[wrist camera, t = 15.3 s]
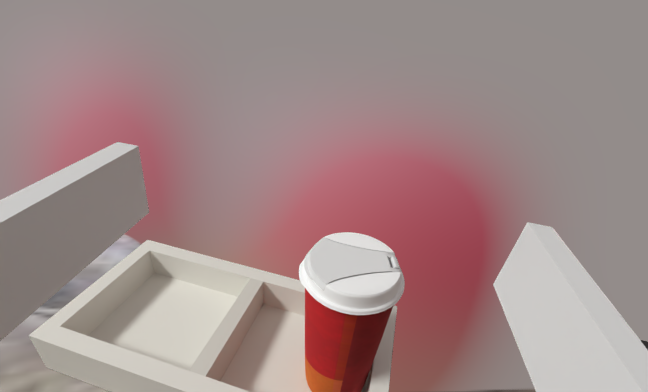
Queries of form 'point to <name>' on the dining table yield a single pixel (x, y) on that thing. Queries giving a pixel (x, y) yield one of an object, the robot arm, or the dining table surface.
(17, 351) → the dining table surface
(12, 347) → the dining table surface
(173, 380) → the cup carrier
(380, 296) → the paper cup
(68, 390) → the dining table surface
